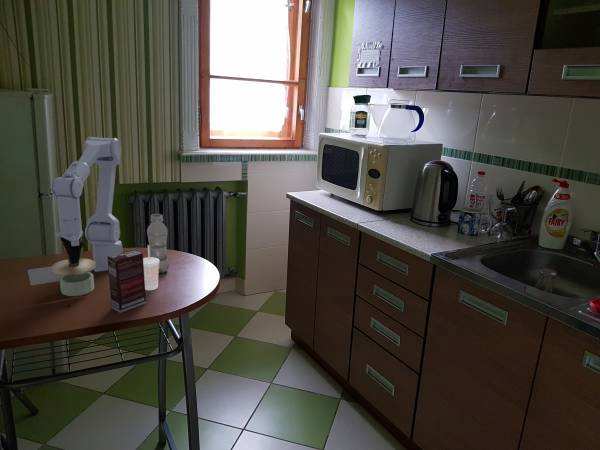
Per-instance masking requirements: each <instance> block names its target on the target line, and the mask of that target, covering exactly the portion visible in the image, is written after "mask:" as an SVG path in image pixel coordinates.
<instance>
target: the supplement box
mask: <svg viewBox="0 0 600 450" xmlns="http://www.w3.org/2000/svg"><path fill="white" fill-rule="evenodd" d="M143 258H144V254H143V252H141V251H139V250H137V249H132V250H128V251H123V253H119V254H115V255H112V256H108V257H107V259H108V270H107V271H108V279H109V293H110V300H111V301H110V304H111V309H112V310H114V311H116V312H117V313H119V314H121V313H124V312H126V311H129V310H132V309H134V308H137V307H139V306H143V305H146V304H147V298H146V297H147V294H146V290H145V279H144V265H143Z"/></svg>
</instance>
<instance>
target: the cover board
mask: <svg viewBox="0 0 600 450" xmlns="http://www.w3.org/2000/svg"><path fill="white" fill-rule="evenodd" d="M67 258H68V259H64V260H60V261H57V262H55V263H54V264H52V272H53V273H55V274H58V275H65V276H71V275H79V274H84V273H87V272H90V273H91V272H92V271H94V269H95V267H96V263H95V261H93V260H92V259H90V258H84V257H83V258H81V257H80V260H79V263H76V264H71V262H70V259H69V256H68V255H67Z"/></svg>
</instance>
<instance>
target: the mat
mask: <svg viewBox="0 0 600 450" xmlns="http://www.w3.org/2000/svg"><path fill="white" fill-rule="evenodd" d="M52 266H53V265H52ZM52 266H44V267H40V268H31V269H27V275H28V279H29V285H30V287H33V286H38V285H44V284H45V285H46V284H52V283H57V282H60V279H59V278H60V277H61V276H62V275H58V274H55V273H53V272H52Z"/></svg>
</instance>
